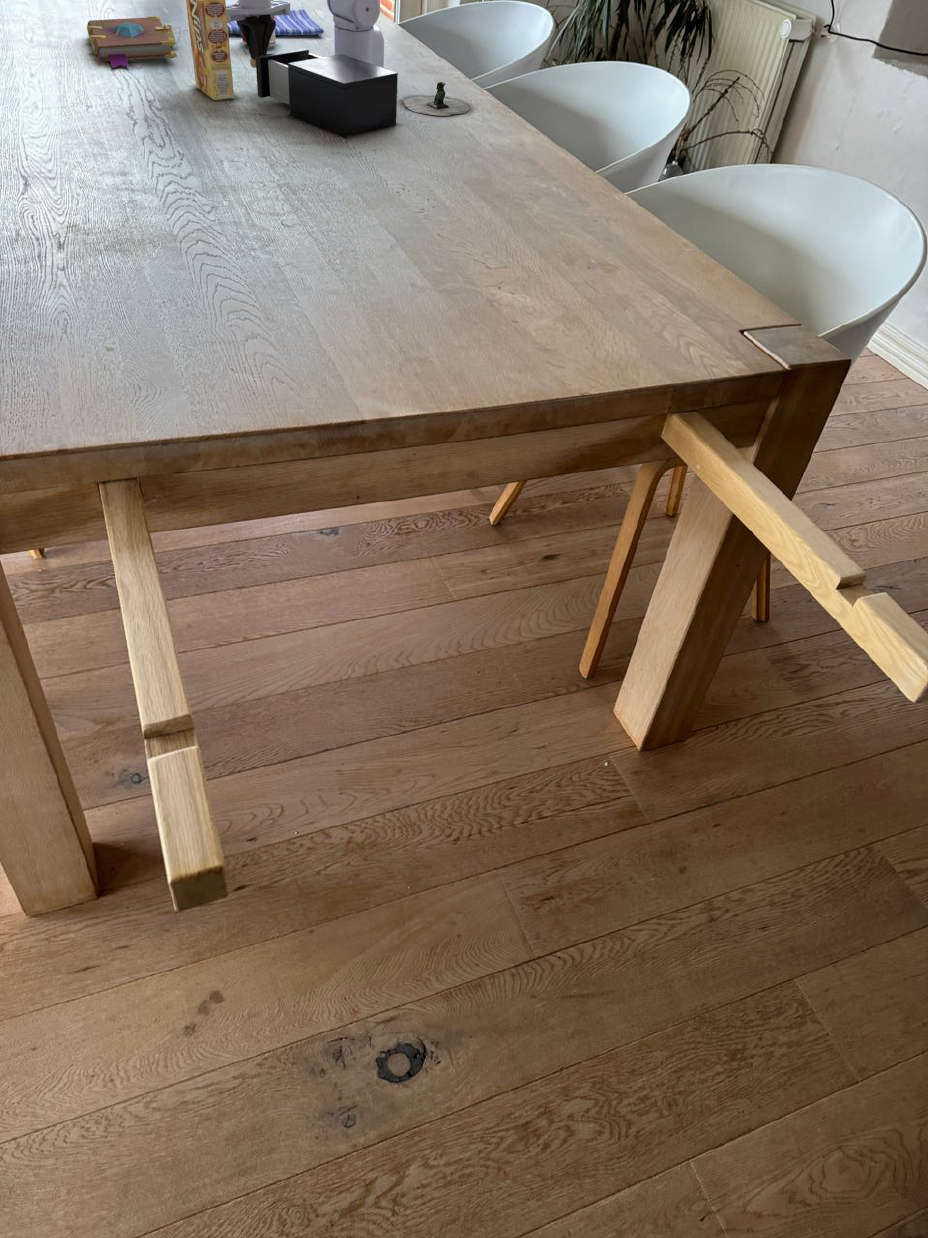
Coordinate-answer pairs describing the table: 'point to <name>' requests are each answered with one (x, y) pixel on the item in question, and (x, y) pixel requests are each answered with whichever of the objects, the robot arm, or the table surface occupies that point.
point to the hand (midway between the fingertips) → (258, 64)
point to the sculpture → (436, 104)
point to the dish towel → (288, 24)
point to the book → (130, 39)
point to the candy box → (210, 47)
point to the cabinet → (342, 94)
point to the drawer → (277, 72)
